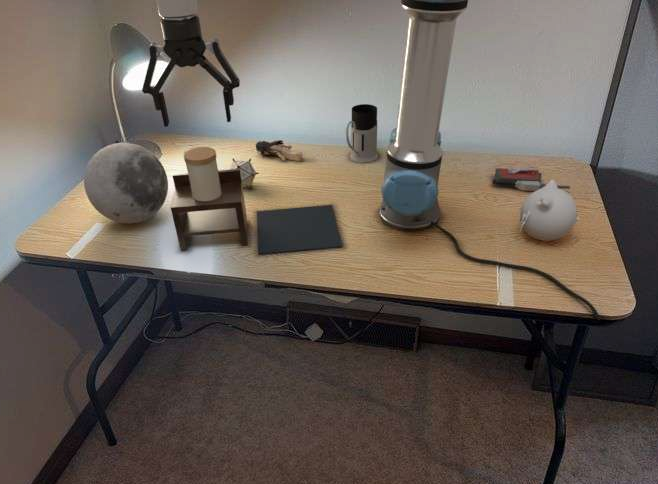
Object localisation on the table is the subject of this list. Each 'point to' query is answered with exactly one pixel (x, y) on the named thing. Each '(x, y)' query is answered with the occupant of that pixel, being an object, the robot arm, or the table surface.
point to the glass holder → (363, 133)
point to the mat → (297, 230)
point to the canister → (203, 173)
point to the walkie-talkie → (520, 178)
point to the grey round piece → (548, 213)
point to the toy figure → (278, 150)
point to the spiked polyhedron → (245, 172)
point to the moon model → (126, 183)
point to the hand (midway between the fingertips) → (198, 122)
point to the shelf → (209, 209)
